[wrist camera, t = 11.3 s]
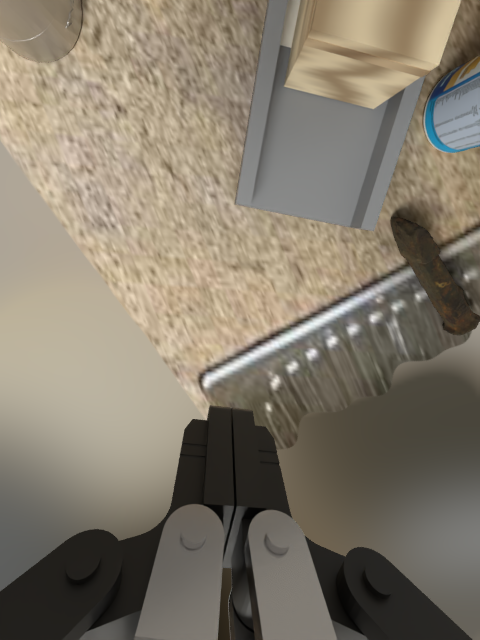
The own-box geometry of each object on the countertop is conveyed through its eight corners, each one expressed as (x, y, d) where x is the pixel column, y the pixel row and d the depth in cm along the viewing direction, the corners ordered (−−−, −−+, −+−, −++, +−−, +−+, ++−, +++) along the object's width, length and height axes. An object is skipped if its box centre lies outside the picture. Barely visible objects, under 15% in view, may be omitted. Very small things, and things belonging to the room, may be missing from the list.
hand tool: (464, 312, 42) (493, 324, 37) (440, 328, 42) (464, 342, 38) (407, 203, 36) (433, 202, 31) (380, 224, 36) (401, 226, 32)
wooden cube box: (283, 87, 29) (310, 29, 20) (303, -18, 27) (346, -140, 17) (373, 109, 31) (439, 65, 21) (402, 12, 28) (491, -88, 18)
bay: (234, 204, 34) (236, 203, 29) (275, -44, 27) (288, -111, 21) (358, 228, 36) (383, 232, 31) (429, 3, 29) (479, -47, 23)
